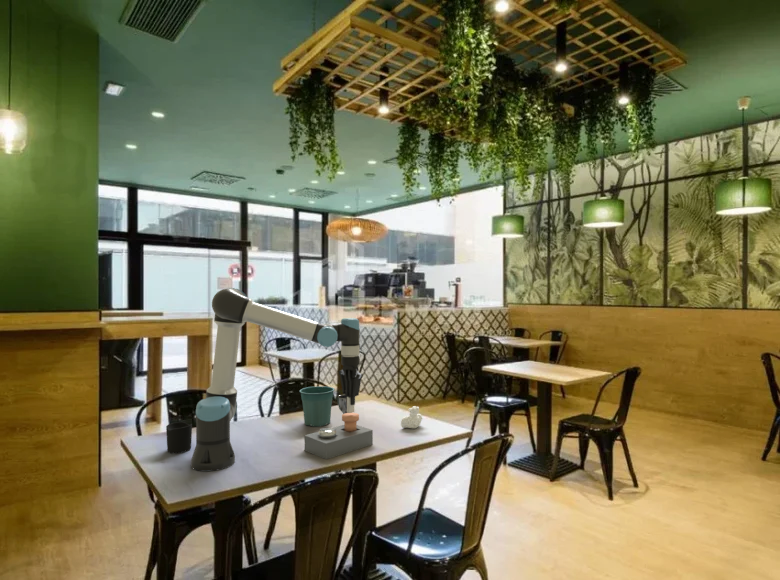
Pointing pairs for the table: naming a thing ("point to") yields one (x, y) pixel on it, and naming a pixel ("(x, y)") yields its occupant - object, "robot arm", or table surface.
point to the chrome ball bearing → (327, 433)
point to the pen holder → (179, 437)
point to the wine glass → (342, 403)
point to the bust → (412, 418)
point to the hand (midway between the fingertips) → (350, 412)
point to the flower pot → (317, 405)
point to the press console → (338, 442)
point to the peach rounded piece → (350, 421)
